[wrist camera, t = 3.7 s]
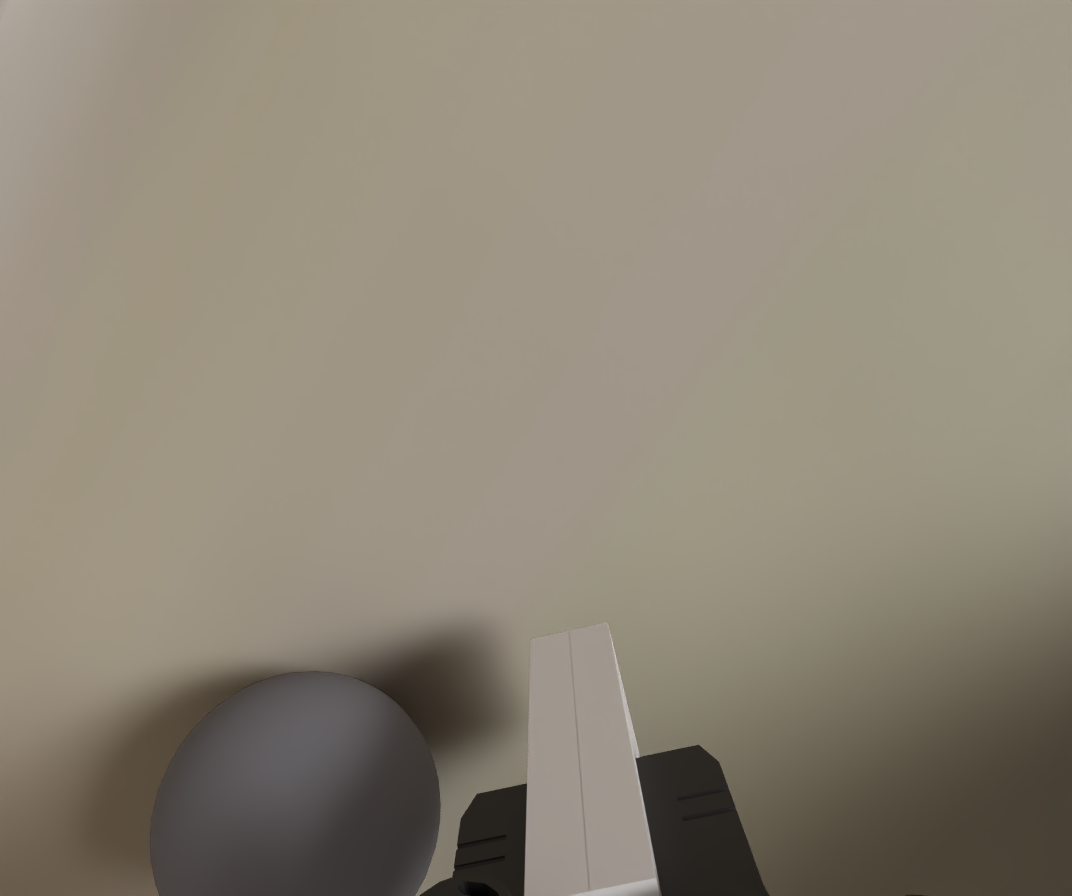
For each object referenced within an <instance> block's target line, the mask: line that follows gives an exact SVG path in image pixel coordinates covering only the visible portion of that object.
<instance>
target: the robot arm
mask: <svg viewBox="0 0 1072 896" xmlns="http://www.w3.org/2000/svg"><path fill="white" fill-rule="evenodd" d="M457 846H458V849H457V850H456V857H455V864H454V867H455V871H453V877H452V878H449V879H447V880H444V881H441V882H439V883H437V884H436V885H434V886H433V887H431V888H430V889H428V890H427V891H425V892H424V893H422V894H421V895H420V896H769V894H768V893H767V891H766V889H765V887H764V885H763V883H762V880H761V877H760V874H759V872H758V869H757V866H756V863H755V861H754V858H753V855H752V852H751V849H750V847H749V844H748V841H747V838H746V835H745V833H744V830H743V827H742V824H741V822H740V819H739V816H738V813H737V810H736V809H735V805H734V802H733V799H732V796H731V794H730V791H729V789H728V785H727V783H726V780H725V777H724V774H723V771H722V769H721V766H720V763H719V762H718V761H717V760H716V759H715V758H714V757H712V756H711V755H710V754H709V753H708V752H707V751H705V750H704V749H703V748H702V747H701V746H699V745H695V746H691V747H686V748H681V749H676V750H672V751H667V752H662V753H657V754H653V755H648V756H643V757H640V756H639V751H638V746H637V742H636V738H635V734H634V730H633V725H632V721H631V717H630V713H629V709H628V705H627V700H626V696H625V692H624V688H623V684H622V680H621V675H620V671H619V667H618V663H617V659H616V655H615V650H614V646H613V642H612V638H611V634H610V630H609V625H608V622H606V623H602V624H597V625H593V626H588V627H583V628H579V629H574V630H570V631H565V632H561V633H556V634H552V635H547V636H543V637H538V638H534V639H531V652H530V691H529V730H528V769H527V784H522V785H517V786H513V787H508V788H503V789H499V790H494V791H489V792H484V793H480V794H477V795H476V796H475V798H474V799H473V801H472V802H471V804H470V806H469V807H468V809H467V810H466V812H465V813H464V815H463V816H462V818H461V822H460V829H459V836H458V843H457ZM906 896H922V895H906Z"/></svg>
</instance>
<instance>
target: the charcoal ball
mask: <svg viewBox="0 0 1072 896" xmlns="http://www.w3.org/2000/svg"><path fill="white" fill-rule="evenodd" d="M440 806H441V804H440V791H439V782H438V776H437V773H436V769H435V765H434V761H433V758H432V755H431V753H430V750H429V748H428V745H427V743H426V741H425V739H424V738H423V736H422V734H421V732H420V731H419V729H418V728H417V726H416V725H415V723H414V722H413V721H412V719H411V718H410V717H409V716H408V714H407V713H406V712H405V711H404V710H403V709H402V708H401V707H400V706H399V705H398V704H397V703H396V702H395V701H394V700H392V699H391V698H390V697H389V696H387V695H386V694H385V693H383V692H381V691H380V690H378V689H377V688H375V687H373V686H371V685H369V684H367V683H365V682H363V681H361V680H358V679H355V678H352V677H349V676H346V675H341V674H336V673H331V672H318V671H312V672H294V673H288V674H283V675H278V676H275V677H272V678H268V679H265V680H262V681H260V682H257V683H255V684H252V685H250V686H248V687H246V688H244V689H242V690H240V691H239V692H237V693H235V694H234V695H232V696H231V697H229V698H228V699H226V700H225V701H223V702H222V703H220V704H219V705H217V706H216V707H215V708H214V709H213V710H212V711H211V712H209V713H208V714H207V715H206V716H205V717H204V718H203V719H202V720H201V721H200V722H199V723H198V724H197V725H196V726H195V727H194V729H193V730H192V731H191V732H190V733H189V735H188V736H187V737H186V738H185V740H184V741H183V743H182V744H181V746H180V747H179V749H178V750H177V752H176V753H175V755H174V757H173V758H172V760H171V762H170V764H169V766H168V768H167V771H166V773H165V775H164V777H163V780H162V782H161V784H160V787H159V790H158V794H157V798H156V802H155V806H154V810H153V814H152V821H151V831H150V855H151V863H152V869H153V874H154V879H155V883H156V887H157V890H158V893H159V896H415V895H416V893H417V891H418V889H419V888H420V886H421V884H422V882H423V880H424V878H425V876H426V874H427V871H428V868H429V865H430V862H431V859H432V856H433V854H434V851H435V847H436V842H437V837H438V831H439V824H440Z"/></svg>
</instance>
